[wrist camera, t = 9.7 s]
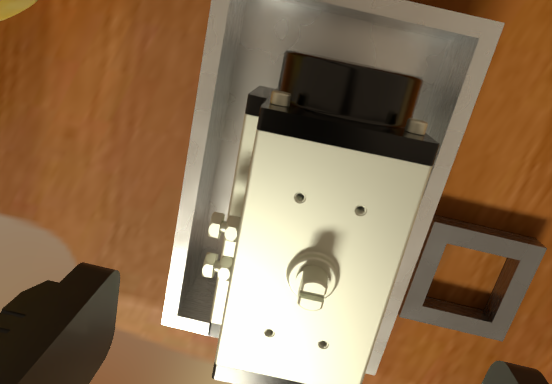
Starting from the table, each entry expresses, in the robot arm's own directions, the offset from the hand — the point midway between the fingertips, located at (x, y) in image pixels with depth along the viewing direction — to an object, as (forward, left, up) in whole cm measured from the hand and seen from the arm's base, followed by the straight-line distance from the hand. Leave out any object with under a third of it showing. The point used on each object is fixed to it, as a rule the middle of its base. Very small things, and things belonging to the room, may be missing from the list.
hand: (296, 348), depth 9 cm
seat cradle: (0, 0, -15) cm, 15 cm away
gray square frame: (+4, +10, -15) cm, 19 cm away
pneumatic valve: (0, 0, -15) cm, 15 cm away
